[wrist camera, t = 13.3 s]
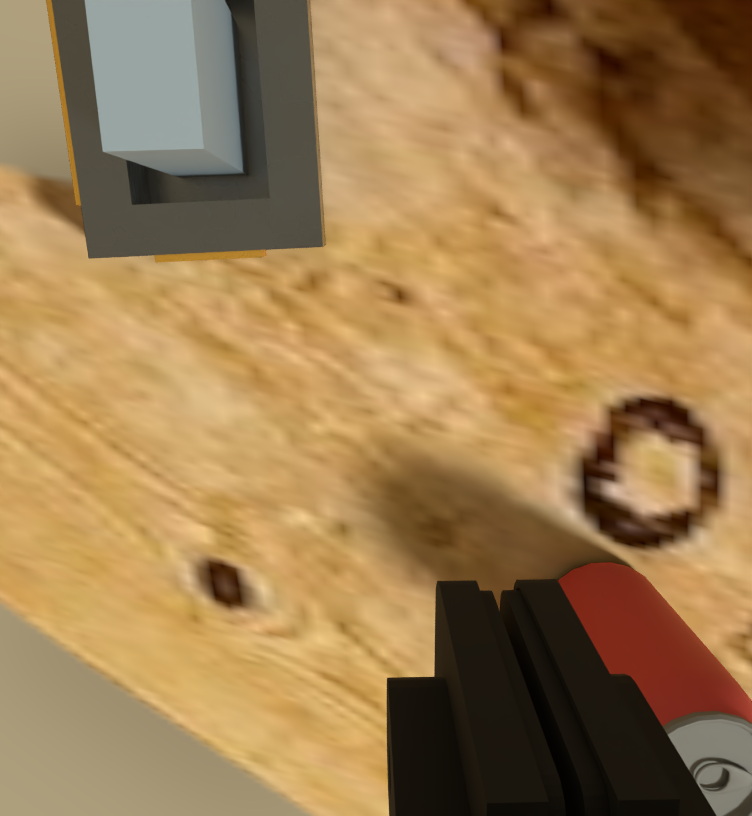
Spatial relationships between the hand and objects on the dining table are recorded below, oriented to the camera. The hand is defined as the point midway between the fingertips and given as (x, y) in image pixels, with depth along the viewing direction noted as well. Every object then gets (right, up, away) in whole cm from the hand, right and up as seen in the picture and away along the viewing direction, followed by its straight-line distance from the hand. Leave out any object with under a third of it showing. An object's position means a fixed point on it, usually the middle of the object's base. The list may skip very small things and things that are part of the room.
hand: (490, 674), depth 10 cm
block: (-9, +17, +20) cm, 28 cm away
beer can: (+10, -7, +28) cm, 31 cm away
